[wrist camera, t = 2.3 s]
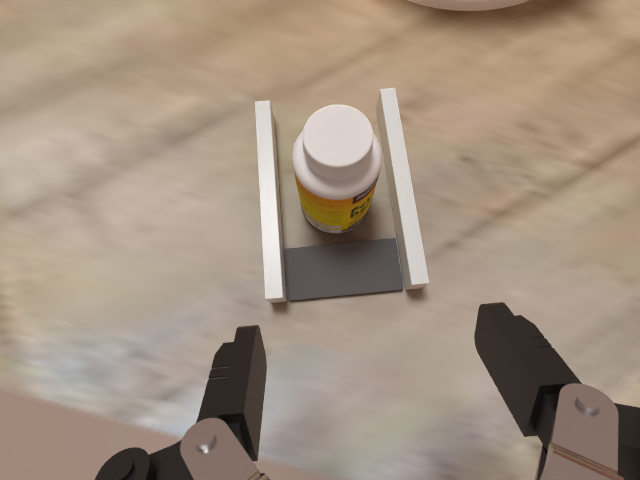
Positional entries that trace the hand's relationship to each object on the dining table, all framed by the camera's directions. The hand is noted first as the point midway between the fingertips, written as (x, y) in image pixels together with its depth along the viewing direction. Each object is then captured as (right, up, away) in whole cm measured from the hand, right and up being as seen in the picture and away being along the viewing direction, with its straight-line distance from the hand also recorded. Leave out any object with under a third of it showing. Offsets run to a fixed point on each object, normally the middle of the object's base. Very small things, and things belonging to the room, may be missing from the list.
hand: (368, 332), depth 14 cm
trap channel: (-1, +8, +17) cm, 19 cm away
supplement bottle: (-1, +6, +17) cm, 18 cm away
